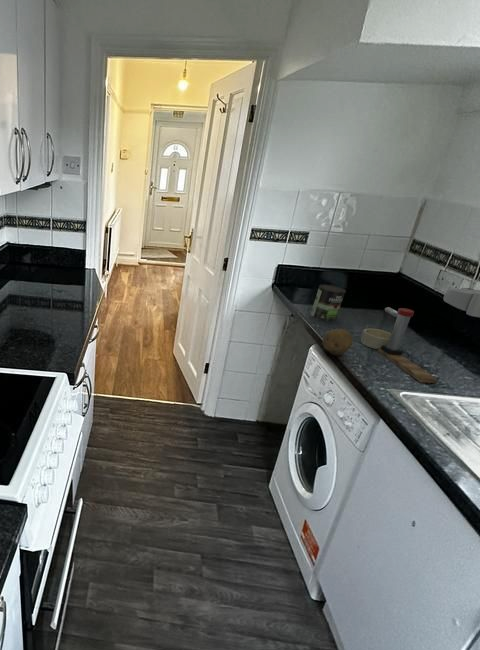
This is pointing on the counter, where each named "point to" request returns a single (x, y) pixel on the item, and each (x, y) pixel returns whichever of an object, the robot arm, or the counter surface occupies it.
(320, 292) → the coffee can
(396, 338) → the tap
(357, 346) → the counter surface
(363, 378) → the counter surface
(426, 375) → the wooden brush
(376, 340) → the basin
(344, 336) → the natural sponge
